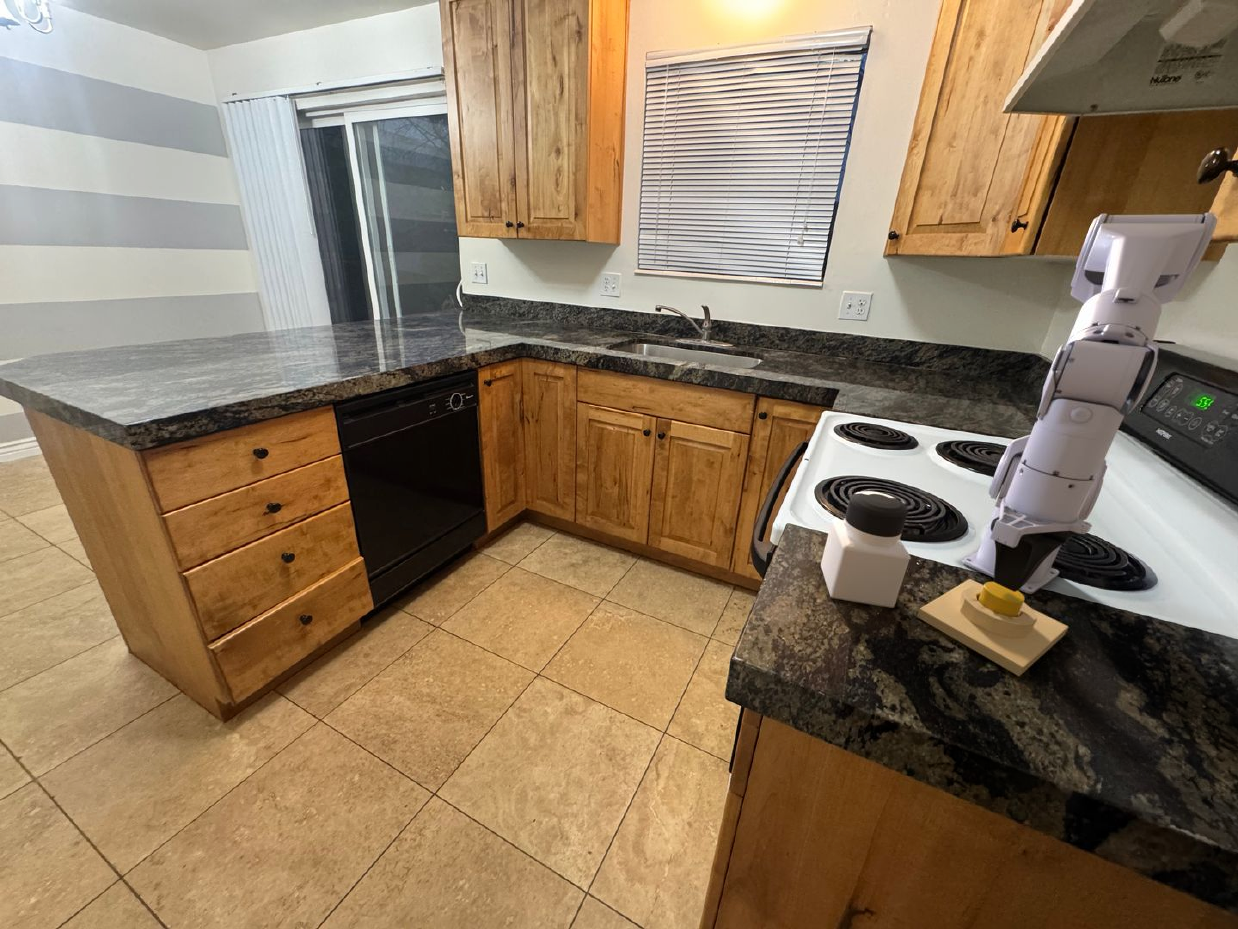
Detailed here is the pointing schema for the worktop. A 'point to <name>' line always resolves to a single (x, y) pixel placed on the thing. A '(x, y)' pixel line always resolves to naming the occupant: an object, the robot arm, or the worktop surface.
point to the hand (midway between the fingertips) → (1006, 585)
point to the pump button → (1001, 599)
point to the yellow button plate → (993, 627)
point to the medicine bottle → (867, 551)
